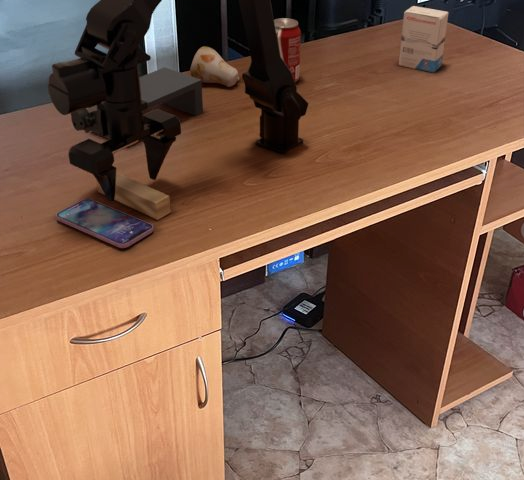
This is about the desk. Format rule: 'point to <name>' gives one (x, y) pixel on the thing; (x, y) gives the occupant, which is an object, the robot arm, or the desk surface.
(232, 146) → the desk surface
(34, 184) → the desk surface
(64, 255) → the desk surface
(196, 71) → the cream rounded tapered piece
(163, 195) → the stick
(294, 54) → the soda can
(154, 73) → the small grey bench
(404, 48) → the ink box
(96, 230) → the smartphone
